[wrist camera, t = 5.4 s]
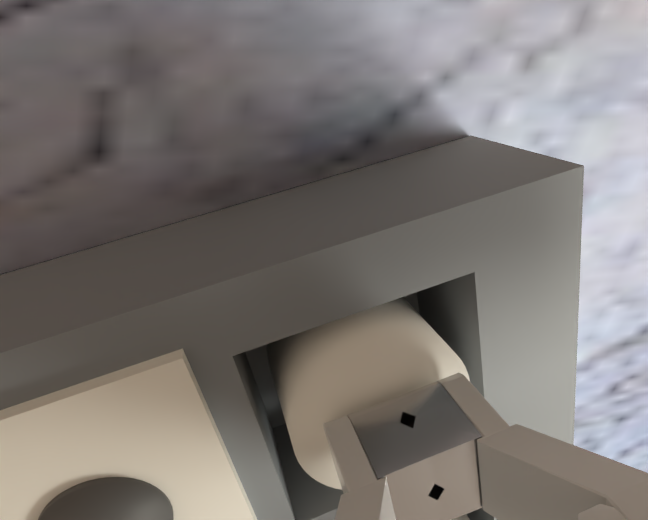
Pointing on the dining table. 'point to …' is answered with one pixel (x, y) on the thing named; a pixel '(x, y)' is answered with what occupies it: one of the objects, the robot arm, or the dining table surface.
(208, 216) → the button board
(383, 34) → the dining table surface
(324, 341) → the button
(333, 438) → the robot arm
